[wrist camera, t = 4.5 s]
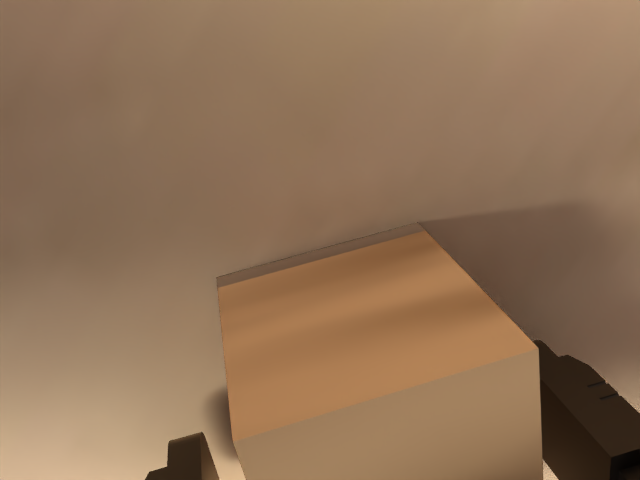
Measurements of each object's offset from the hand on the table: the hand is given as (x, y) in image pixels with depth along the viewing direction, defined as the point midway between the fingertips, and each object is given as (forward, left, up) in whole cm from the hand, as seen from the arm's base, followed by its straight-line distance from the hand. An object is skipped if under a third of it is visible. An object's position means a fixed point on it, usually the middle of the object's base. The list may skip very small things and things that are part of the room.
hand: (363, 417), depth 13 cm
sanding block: (0, 0, -1) cm, 1 cm away
